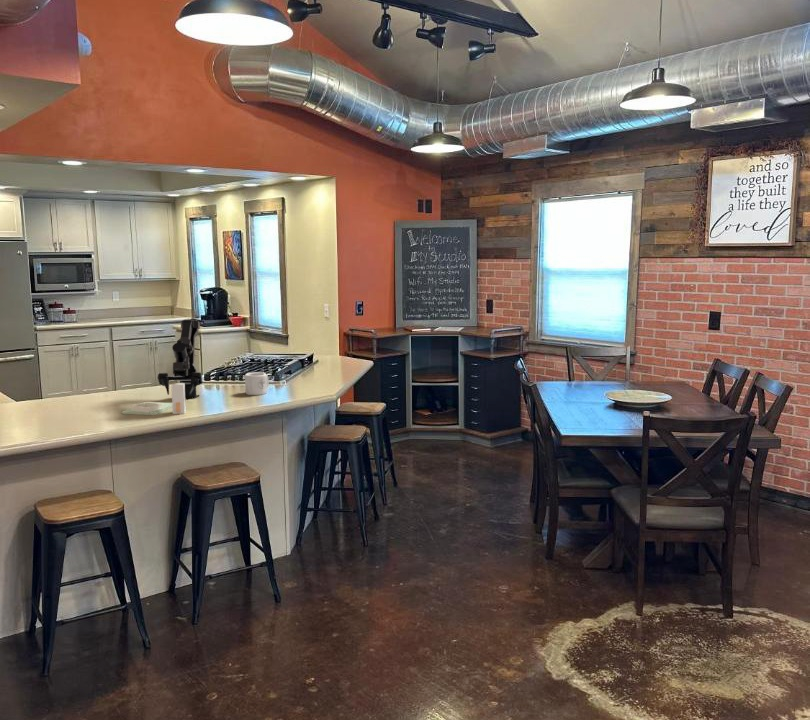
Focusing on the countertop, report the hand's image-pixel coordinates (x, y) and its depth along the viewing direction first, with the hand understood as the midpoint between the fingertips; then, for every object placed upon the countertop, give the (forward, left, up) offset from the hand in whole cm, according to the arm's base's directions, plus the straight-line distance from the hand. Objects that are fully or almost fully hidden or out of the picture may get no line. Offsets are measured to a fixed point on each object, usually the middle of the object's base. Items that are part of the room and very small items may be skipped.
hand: (178, 394), depth 303 cm
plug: (+1, 0, -8) cm, 8 cm away
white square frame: (+1, -15, -8) cm, 17 cm away
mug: (-47, +20, -9) cm, 52 cm away
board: (-3, -16, -8) cm, 18 cm away
